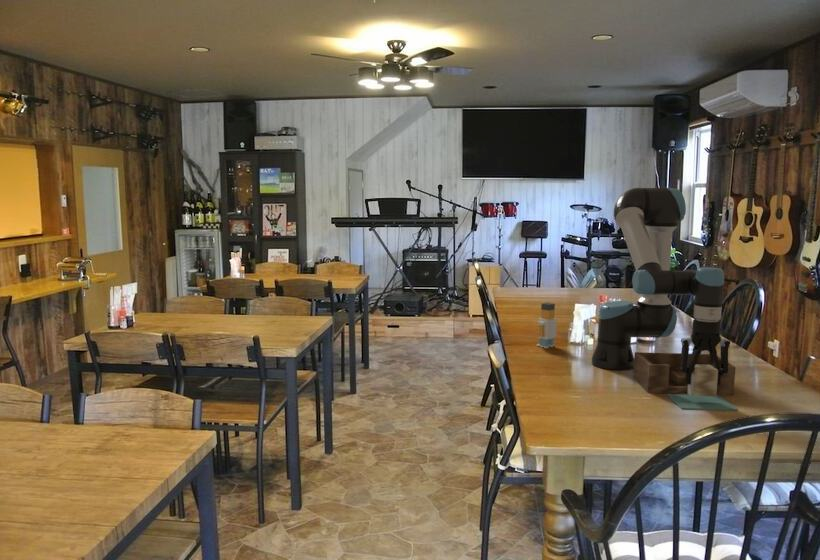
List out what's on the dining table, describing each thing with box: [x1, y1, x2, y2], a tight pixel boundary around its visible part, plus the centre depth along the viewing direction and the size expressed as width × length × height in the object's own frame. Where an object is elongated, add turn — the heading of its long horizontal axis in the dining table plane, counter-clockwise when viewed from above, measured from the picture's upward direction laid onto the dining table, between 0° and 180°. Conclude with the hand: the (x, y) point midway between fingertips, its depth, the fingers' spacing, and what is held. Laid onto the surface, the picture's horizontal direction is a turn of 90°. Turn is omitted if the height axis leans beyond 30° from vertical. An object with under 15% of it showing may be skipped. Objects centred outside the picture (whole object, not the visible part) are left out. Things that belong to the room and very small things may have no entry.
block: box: [692, 364, 718, 396], centre depth 192 cm, size 6×6×8 cm
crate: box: [632, 351, 737, 396], centre depth 209 cm, size 26×16×9 cm, turn 86°
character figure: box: [536, 302, 558, 349], centre depth 263 cm, size 8×10×18 cm
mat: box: [666, 393, 738, 412], centre depth 193 cm, size 16×13×1 cm
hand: (701, 394), depth 193 cm, fingers closed on block, 6 cm apart
